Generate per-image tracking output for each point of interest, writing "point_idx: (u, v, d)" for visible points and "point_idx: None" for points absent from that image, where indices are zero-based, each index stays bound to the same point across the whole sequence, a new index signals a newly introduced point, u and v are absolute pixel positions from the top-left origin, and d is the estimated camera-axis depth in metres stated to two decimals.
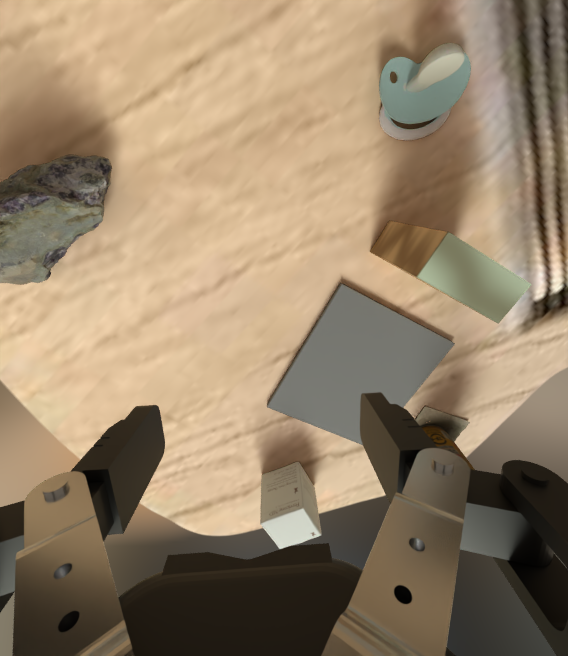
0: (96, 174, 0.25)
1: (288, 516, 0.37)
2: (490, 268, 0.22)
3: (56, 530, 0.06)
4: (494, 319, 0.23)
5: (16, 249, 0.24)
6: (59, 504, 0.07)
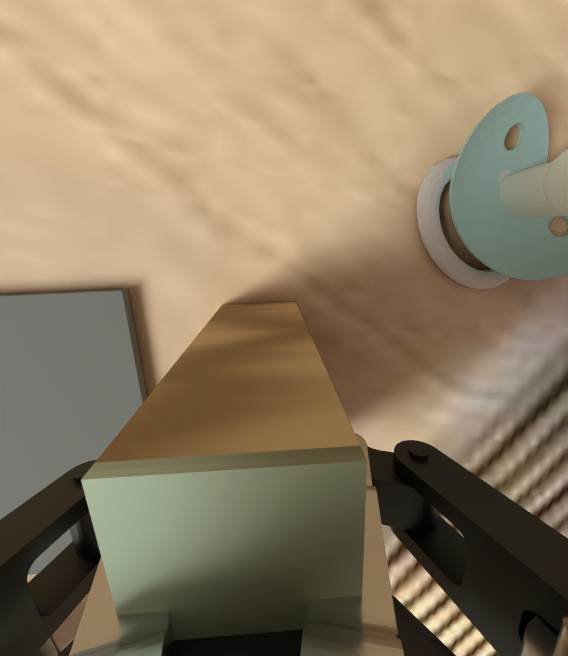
0: None
1: None
2: None
3: None
4: None
5: None
6: None
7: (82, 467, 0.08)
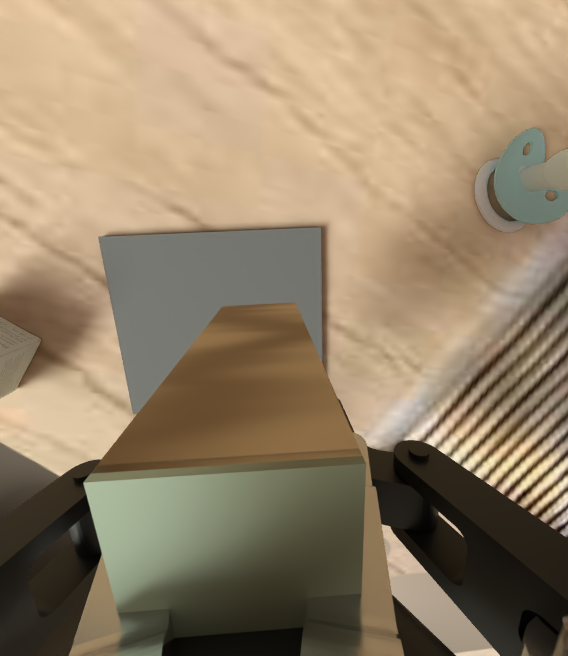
0: None
1: None
2: None
3: None
4: None
5: None
6: None
7: (82, 467, 0.08)
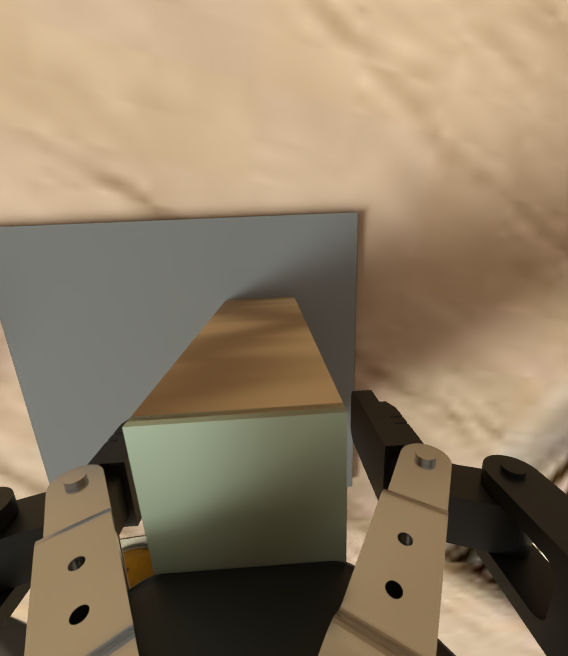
0: None
1: None
2: None
3: (73, 521, 0.06)
4: None
5: None
6: (77, 497, 0.07)
7: None
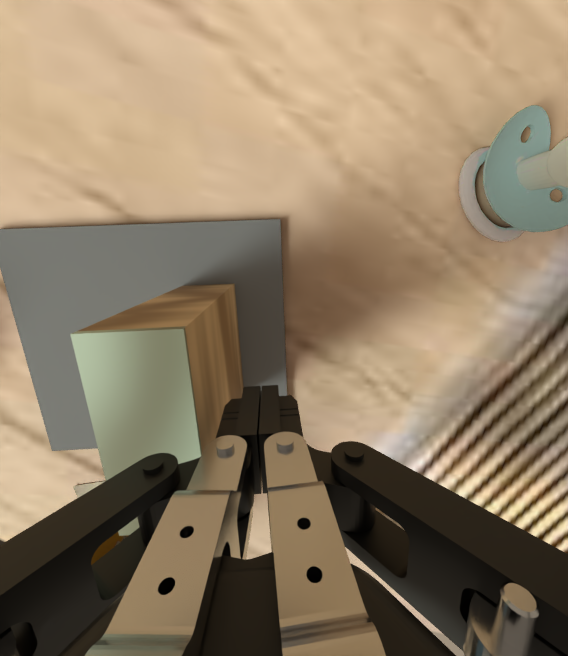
0: None
1: None
2: (184, 450, 0.11)
3: (209, 485, 0.07)
4: None
5: None
6: (221, 463, 0.08)
7: (152, 459, 0.08)
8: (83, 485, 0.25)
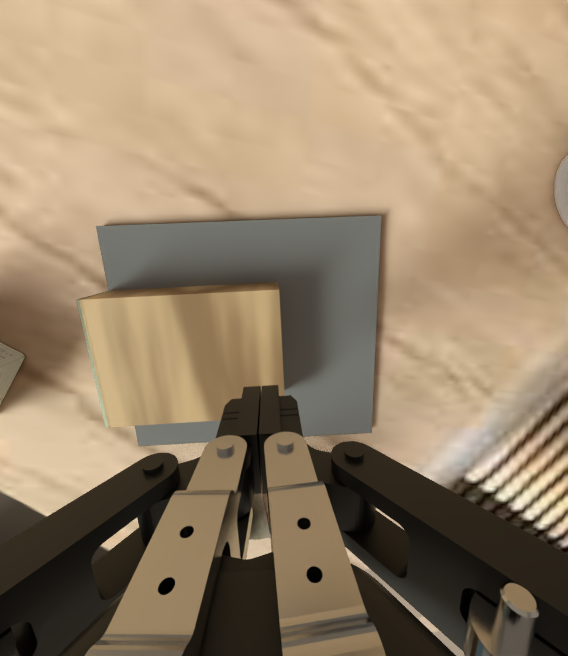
0: None
1: None
2: None
3: (209, 485, 0.07)
4: None
5: None
6: (221, 463, 0.08)
7: (153, 458, 0.08)
8: None
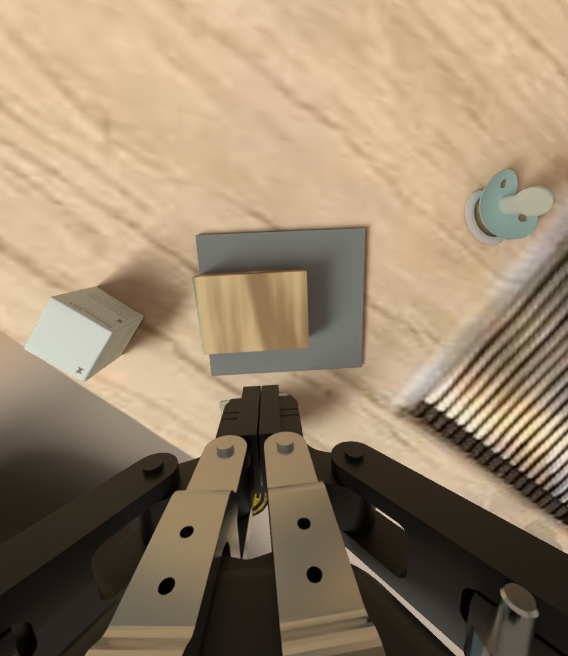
0: None
1: (87, 324, 0.27)
2: None
3: (209, 485, 0.07)
4: None
5: None
6: (220, 463, 0.08)
7: (152, 459, 0.08)
8: (225, 401, 0.38)
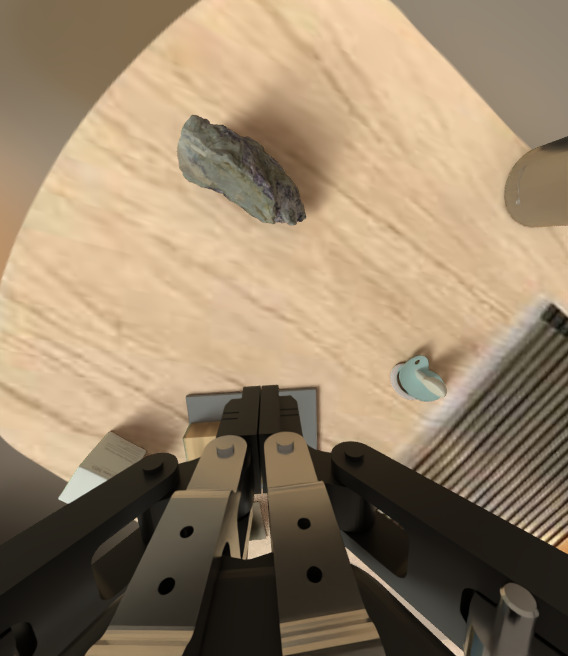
0: (295, 217, 0.33)
1: None
2: None
3: (209, 485, 0.07)
4: None
5: (219, 175, 0.29)
6: (220, 463, 0.08)
7: (153, 458, 0.08)
8: None
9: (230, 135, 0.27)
